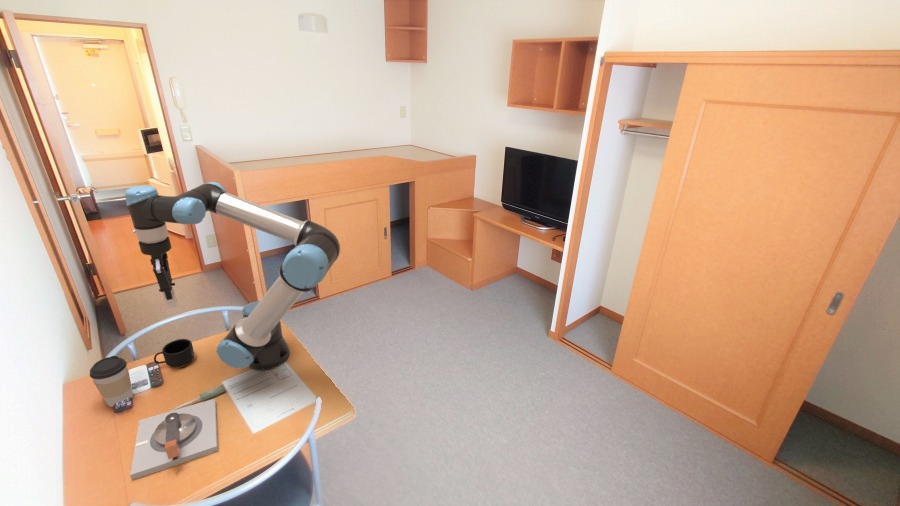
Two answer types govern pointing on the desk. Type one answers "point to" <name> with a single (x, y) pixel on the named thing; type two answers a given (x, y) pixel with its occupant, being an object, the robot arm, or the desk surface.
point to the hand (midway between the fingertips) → (172, 305)
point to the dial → (174, 432)
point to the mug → (177, 353)
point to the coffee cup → (112, 379)
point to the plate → (199, 444)
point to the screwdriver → (205, 395)
